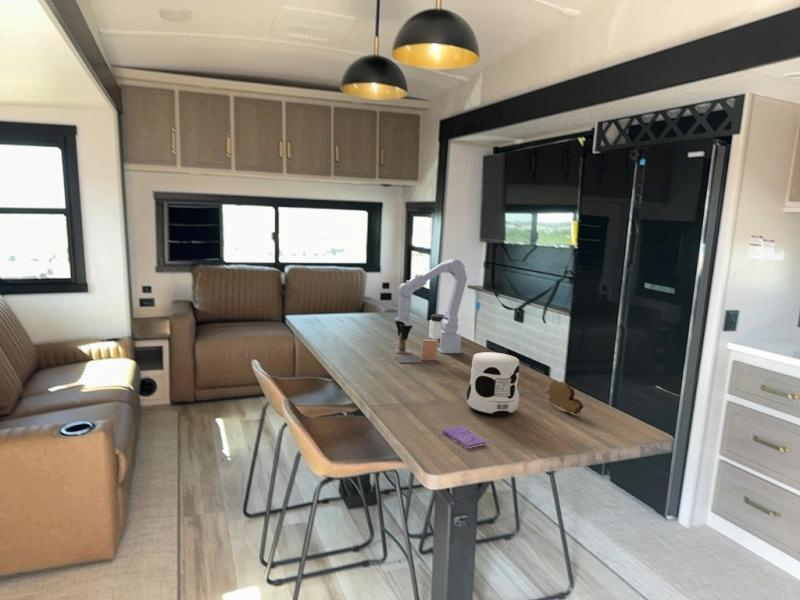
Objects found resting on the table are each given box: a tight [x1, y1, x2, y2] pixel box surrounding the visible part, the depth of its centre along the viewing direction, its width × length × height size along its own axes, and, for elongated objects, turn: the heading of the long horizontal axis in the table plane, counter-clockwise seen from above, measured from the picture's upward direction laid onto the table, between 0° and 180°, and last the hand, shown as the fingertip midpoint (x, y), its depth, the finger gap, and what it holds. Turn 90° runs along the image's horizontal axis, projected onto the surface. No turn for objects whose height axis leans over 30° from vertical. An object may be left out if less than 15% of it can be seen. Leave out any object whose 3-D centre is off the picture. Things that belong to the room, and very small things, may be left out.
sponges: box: [441, 425, 487, 448], centre depth 155 cm, size 7×13×2 cm, turn 29°
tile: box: [420, 339, 439, 361], centre depth 238 cm, size 7×1×9 cm, turn 104°
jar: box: [428, 313, 445, 340], centre depth 282 cm, size 9×8×12 cm
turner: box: [393, 333, 412, 355], centre depth 249 cm, size 7×6×9 cm
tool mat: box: [394, 355, 423, 365], centre depth 235 cm, size 10×10×1 cm
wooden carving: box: [545, 380, 584, 415], centre depth 182 cm, size 16×5×10 cm, turn 28°
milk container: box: [466, 351, 520, 416], centre depth 178 cm, size 17×17×18 cm
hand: (402, 337), depth 250 cm, fingers open, 7 cm apart
